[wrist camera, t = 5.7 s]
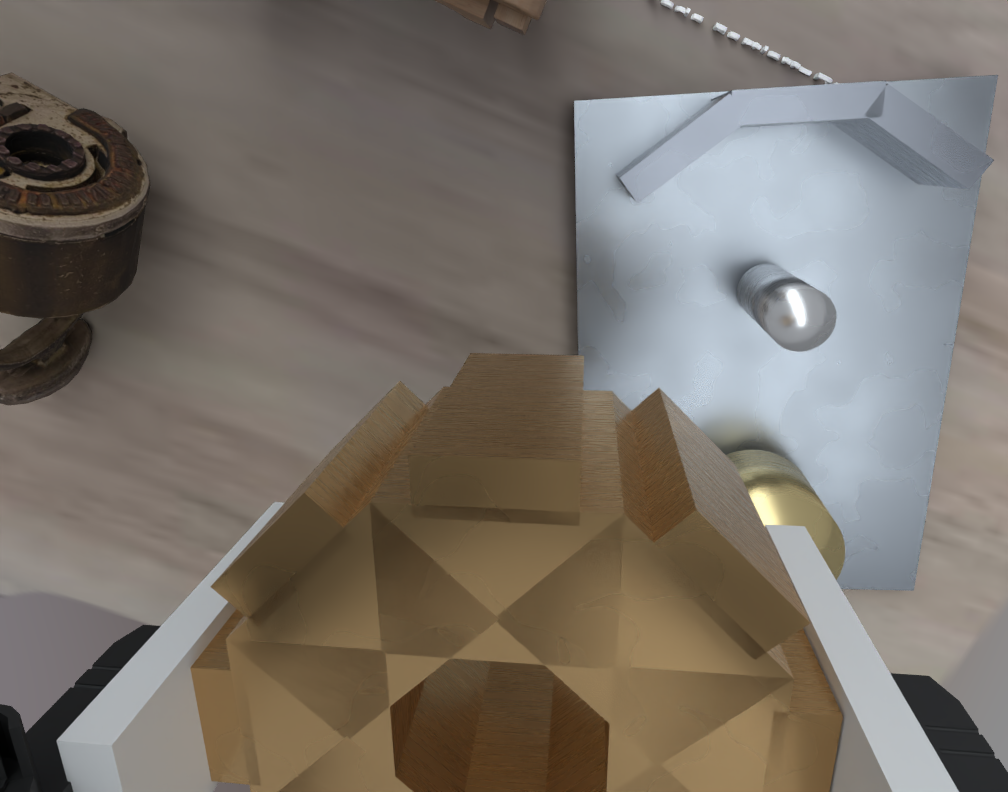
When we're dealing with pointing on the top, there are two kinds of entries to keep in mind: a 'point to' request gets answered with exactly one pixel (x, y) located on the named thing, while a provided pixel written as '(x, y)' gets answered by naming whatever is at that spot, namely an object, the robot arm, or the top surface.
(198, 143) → the top surface
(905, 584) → the carrier
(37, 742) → the robot arm
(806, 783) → the gear
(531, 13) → the ostrich figurine
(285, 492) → the top surface
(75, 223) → the mechanical counter
